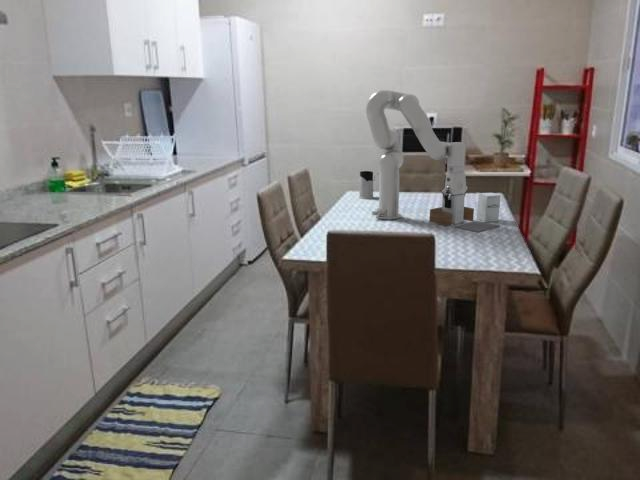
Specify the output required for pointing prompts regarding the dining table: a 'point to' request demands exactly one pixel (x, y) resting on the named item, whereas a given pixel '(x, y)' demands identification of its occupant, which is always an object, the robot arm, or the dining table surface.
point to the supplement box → (488, 207)
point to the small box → (455, 208)
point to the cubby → (448, 216)
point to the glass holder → (366, 184)
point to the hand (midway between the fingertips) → (454, 206)
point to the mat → (477, 226)
